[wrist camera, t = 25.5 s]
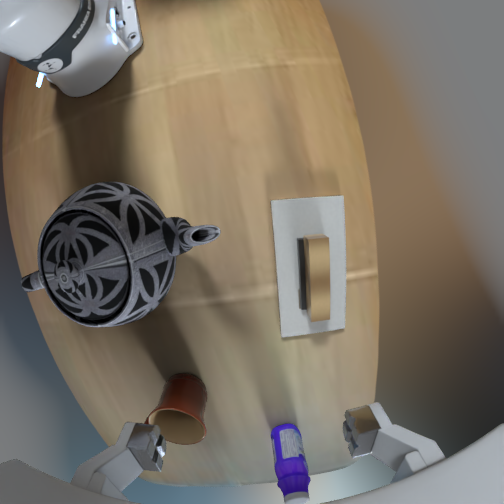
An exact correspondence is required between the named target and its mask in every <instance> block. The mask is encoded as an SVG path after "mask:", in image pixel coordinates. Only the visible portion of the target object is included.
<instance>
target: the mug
mask: <svg viewBox="0 0 504 504" xmlns="http://www.w3.org/2000/svg"><path fill="white" fill-rule="evenodd" d="M206 402H207V391H206V387H205V385H204V383H203V382H202V381H201V380H200V379H198V378H197V377H195V376H193V375H190V374H176V375H174V376H172V377H171V378H170V379H169V380H168V382H167V383H166V384H165V386H164V388H163V392H162V395H161V398H160V401H159V404H158V406H157V407H156V408H155V409H154V410H153V411H152V412H151V413H150V414H149V416H148V417H147V419H146V421H145V423H144V424H151V425H158V426H159V428H160V429H161V431H160V434H161V435H163V436H164V438H165V440H166V441H169V442H172V443H176V444H182V445H189V444H195V443H198V442H200V441H201V440H203V439H204V437H205V435H206V427H205V424H204V419H203V417H204V412H205V407H206Z"/></svg>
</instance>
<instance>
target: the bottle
mask: <svg viewBox="0 0 504 504" xmlns="http://www.w3.org/2000/svg"><path fill="white" fill-rule="evenodd" d="M271 439H272V446H273V454H274V463H275V472H276V475H277V478H278V480H279V481H278V484H277V485H278V487H279V488H280V489H281V491H282V492H283V495H284V502H285V504H304V503H306V502H308V501H309V494H308V485H309V482H310V477H309V476H308V466H307V463H306V459H305V455H304V450H303V445H302V438H301V434H300V431H299V430H298V428H297V427H296V426H295V425H293V424H290V423H289V424H283V425H279V426H277V427H275V428H273V430H272V432H271Z"/></svg>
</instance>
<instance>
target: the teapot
mask: <svg viewBox="0 0 504 504" xmlns="http://www.w3.org/2000/svg"><path fill="white" fill-rule="evenodd" d="M220 233H221V232H220V229H219V228H218V227H217V226H214V225H201V226H195V227H192V226H190V224H189V223H188V222H187V221H186V220H185V219H182V218H179V217H171V218H166V217H165V216H164V214H163V212H162V211H161V209H160V208H159V207H158V205H157V204H156V203H155V202H154V201H153V200H152V199H151V198H150V197H149V196H148V195H146V194H145V193H144V192H142V191H140V190H139V189H137V188H135V187H133V186H131V185H128V184H125V183H120V182H100V183H96V184H92V185H89V186H87V187H84V188H82V189H81V190H79V191H77V192H75V193H74V194H73V195H71V196H70V197H69V198H67V199H66V200H65V201H64V202H63V203H62V204H61V205H60V206H59V207H58V208H57V210H56V211H55V212H54V213H53V214H52V216H51V217H50V218H49V220H48V221H47V223H46V224H45V226H44V228H43V230H42V233H41V235H40V239H39V244H38V267H39V270H38V271H36V272H34V273H31V274H29V275H27V276H25V277H23V278H22V280H21V284H22V287H23V289H24V290H25V291H26V292H31V291H35V290H38V289H42V288H45V290H46V292H47V294H48V296H49V297H50V299H51V300H52V302H53V303H54V304H55V306H56V307H57V308H58V309H59V310H60V311H61V312H62V313H63V314H64V315H66V316H67V317H68V318H70V319H71V320H73V321H75V322H77V323H79V324H82V325H85V326H89V327H110V326H119V325H124V324H128V323H131V322H134V321H136V320H138V319H140V318H142V317H144V316H146V315H147V314H149V313H150V312H151V311H153V310H154V309H155V308H156V307H157V306H158V305H159V304H160V303H161V301H162V300H163V299H164V297H165V296H166V295H167V293H168V291H169V289H170V287H171V284H172V282H173V278H174V274H175V268H176V255H179V254H182V253H185V252H187V251H189V250H190V249H191V248H192V247H193V246H197V245H202V244H206V243H209V242H211V241H213V240H215V239H216V238H217V237H219V235H220Z"/></svg>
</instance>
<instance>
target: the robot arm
mask: <svg viewBox="0 0 504 504" xmlns="http://www.w3.org/2000/svg"><path fill="white" fill-rule="evenodd" d="M133 37H135V38H134V39H132V38H133ZM142 43H143V38H142V34H141V29H140V24H139V19H138V14H137V8H136V3H135V0H0V52H3V53H5V54H8V55H10V56H12V57H14V58H16V60H17V62H18V63H20V64H22V65H23V66H26V67H27V68H29V69H31V70H34V71H37V72H40V73H39V77H38V80H37V84H36V86H37V87H41V83H42V79H43V75H44V76H46V77H47V80H48V81H49V82H51V83H54V84H56V85H57V86H58V87H59V88H60V90H61V91H62V92H63V93H64V94H66V95H68V96H71V97H80V96H85V95H88V94H90V93H92V92H94V91H96V90H98V89H99V88H101V87H102V86H103V85H105V84H106V83H107V82H108V81H109V80H110V79H111V78H112V77H113V76H114V75H115V74H116V73H117V72H118V70H119V69H120V68H121V66H122V65H123V63H124V62H125V60H126V59H127V58H128V56H130V55H131V54H132V53H133V52H135V51H136V50H137V49H138V48H139V47H140V46H141V45H142ZM345 419H346V420H345V421H344V422H343V434H344V438H345V440H346V441H347V442H349V447H348V448H349V451H350V454H351V456H352V458H355V457H359V456H363V455H367V454H371V455H372V456H373V457H375V458H376V459H378V460H379V461H381V462H382V463H384V464H385V465H387V466H388V467H390V468H391V469H393V470H394V471H396V474H395V476H394V478H393V480H392V481H391V484H389V485H386V486H383V487H380V488H377V489H374V490H371V491H368V492H365V493H361V494H358V495H354V496H351V497H347V498H343V499H339V500H335V501H330V502H326V503H321V504H504V423H503V424H501V425H499V426H497V427H496V428H495V429H493V430H492V431H490V432H489V433H488V434H486V435H485V436H483V437H482V438H481V439H479V440H477V441H476V442H474V443H472V444H471V445H469V446H468V447H466V448H464V449H463V450H461V451H459V452H457V453H456V454H454V455H452V456H450V457H448V458H447V459H446V458H445V456H444V454H443V453H442V452H441V450H440V449H439V447H438V445H437V444H436V442H435V441H433V440H431V439H428V438H426V437H423V436H421V435H419V434H416V433H414V432H412V431H410V430H407V429H405V428H403V427H400V426H398V425H396V424H395V425H392V423H391V422H390V420H389V418H388V416H387V415H386V413H385V411H384V410H383V408H382V406H381V405H380V403H379V402H376V403H373V404H369V405H365V406H361V407H357V408H354V409H350V410H346V412H345ZM160 431H161V429H160V428H159V426H158V425H151V424H143V423H134V422H126V423H125V425H124V427H123V429H122V431H121V434H120V436H119V438H118V440H117V443H116V445H112V446H110V447H109V448H107V449H105V450H104V451H102V452H101V453H99V454H98V455H96V456H94V457H93V458H91V459H89V460H88V461H86V462H85V463H83V464H81V465H79V466H78V468H77V470H76V472H75V475H74V477H73V478H72V481H71V483H67V482H65V481H62V480H60V479H57V478H55V477H53V476H50V475H48V474H46V473H44V472H42V471H39V470H37V469H35V468H33V467H31V466H29V465H28V464H26V463H24V462H22V461H20V460H17V459H13V460H10V461H7V462H4V463H1V464H0V504H139V503H134V502H130V501H128V499H127V498H126V497H125V496H124V495H123V494H122V493H121V491H122V490H123V489H124V488H125V487H126V486H128V485H129V484H130V483H131V482H132V481H133V480H134V479H135V478H136V477H137V476H139V475H140V474H141V473H142V472H143V471H144V470H149V471H159V472H161V468H162V465H163V460H162V458H161V457H162V456H163V455H165V453H166V440H165V438H164V436H163V435H161V434H160Z"/></svg>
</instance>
